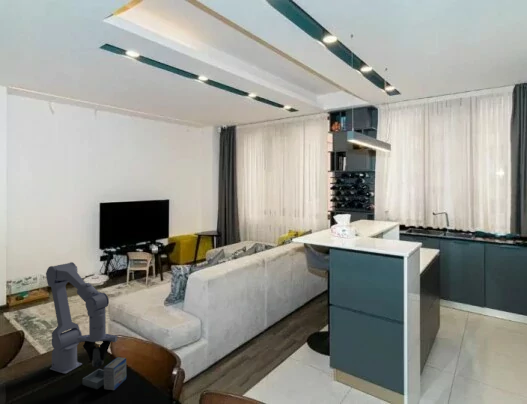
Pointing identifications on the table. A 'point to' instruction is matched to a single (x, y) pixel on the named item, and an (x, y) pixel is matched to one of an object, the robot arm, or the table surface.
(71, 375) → the table surface
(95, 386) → the trough
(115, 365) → the medicine box
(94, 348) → the battery cell
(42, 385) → the table surface
